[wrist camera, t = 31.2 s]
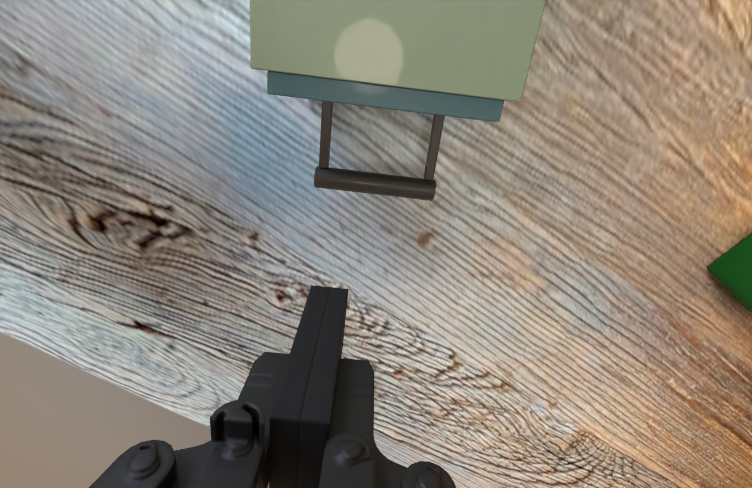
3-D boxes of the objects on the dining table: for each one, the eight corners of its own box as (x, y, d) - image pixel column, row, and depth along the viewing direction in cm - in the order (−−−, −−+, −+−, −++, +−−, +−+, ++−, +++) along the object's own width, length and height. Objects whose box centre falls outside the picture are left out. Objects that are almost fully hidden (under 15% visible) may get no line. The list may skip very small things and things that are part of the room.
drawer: (454, 183, 32) (477, 217, 24) (295, 165, 31) (266, 193, 24) (522, -159, 23) (592, -277, 16) (306, -191, 23) (268, -329, 15)
